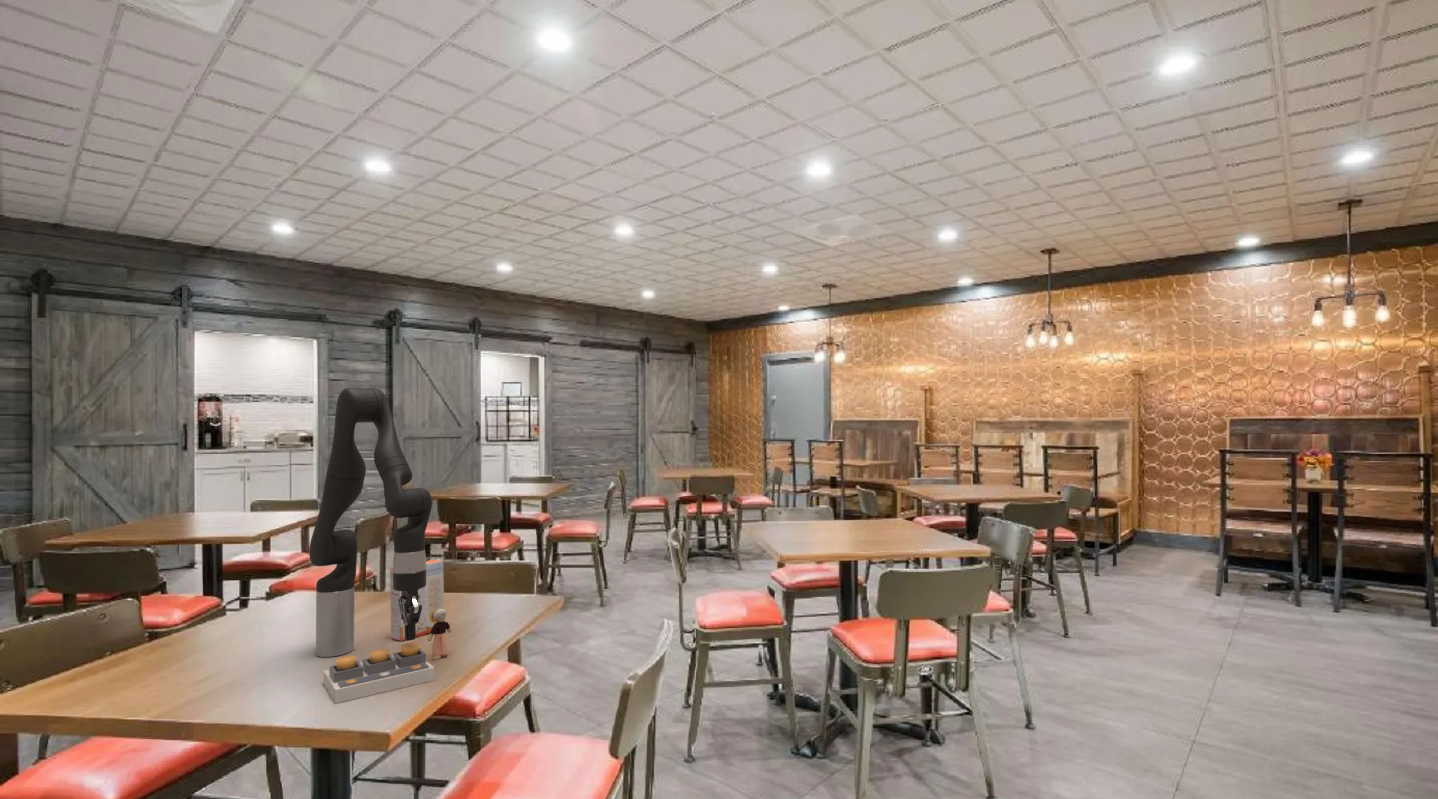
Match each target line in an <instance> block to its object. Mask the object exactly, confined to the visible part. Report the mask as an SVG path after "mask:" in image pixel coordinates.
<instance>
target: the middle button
mask: <svg viewBox="0 0 1438 799" xmlns="http://www.w3.org/2000/svg"><path fill="white" fill-rule="evenodd" d="M388 654H389V649H387V648H378V649H374V650H371V651H370V652H369V658H370V662H371V663H378V662H383V661H386V660H388Z"/></svg>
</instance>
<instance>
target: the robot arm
mask: <svg viewBox="0 0 1438 799" xmlns="http://www.w3.org/2000/svg"><path fill="white" fill-rule="evenodd" d="M334 415H335V417H334V428H333V429H334V430H333V437H332V438H333V439H332V444H331V451H330V455H329V461H328V464H327V468H326V474H325V479H324V485H323V492H322V495H321V496H322V498H321V502H320V507H319V511H318V516H317V518H316V522H315V525H314V528H313V532H312V535H311V539H310V543H309V549H308V550H309V552H308V554H309V559H310V563H311V564H312V565H313V566H315V567H326V566H334V565H336V567H335V568H334V569H333V570H332V571H330V572H329V573H327V574H326V575H324V576H323V577H321V578H319V579H318V580H317V581H316V584H315V586H316V588H315V590H316V593H315V596H316V597H315V601H316V602H315V606H316V607H315V656H316V657H321V658H330V657H331V658H332V657H338V656H341V655H342V656H343V655H346V654H348V653H351V652H353V651H354V649H355V581H356V576H357V562H358V561H357V560H358V538H357V535H356V533H355V531H354V530H352V529H349V528H345V529H337V530H336V529H335V528H336V526H337V524H338V522H339V520H340V518H341V517H342V516H343V515H344V514H345V512H346V511H347V510H348V509H349V508H351V505H353V504H354V502H355V501H356V500H357V499H358V498H359V496H360V494H361V493H362V491H363V487H364V482H365V478H366V473H367V467H366V466H367V465H366V462H365V461H364V458H363V456H362V454H361V453H360V451H359V448H358V447H357V443H355V429H356V424H357V423H373V425H374V426H375V428H376V429H377V440H376V444H375V448H374V452H373V460H374V465H375V468H376V470H377V472H378V474H379V476H380V478H381V481H382V484H383V493H384V503H385V504H384V505H385V509H386V511H387V512H388V513H389V514H388V515H390V516H391V517H393V518H395V519H404V518H408V522H407V523H406V525H403V526H400V527H398V528H397V529H395V531H394V534H393V545H394V546H393V547H394V548H393V551H394V552H393V559H392V567H393V589H394V590H396V591H402V592H401V596H400V598H399V600H398V602H399V607H400V613H401V619H402V620H403V623H404V624H405V639H406V640H405V641H407V642H409V641H414V640H415V639H416V638H417V637H416V629H415V624H417V623H418V622H419V618H420V614H421V610H422V605H419V603H420V595H419V596H418V590H419V589H420V588H424V587H425V586H426V561H427V556H426V530H427V527H428V522H429V521H430V520H429V519H430V516H431V513H432V508H433V499H432V495H431V493H430V492H429V490H428V489H426V488H424V487H414V488H413V487H412V488H403V487H404V486H406V485H407V484H409V483H410V482H411V481H412V479H413V472H412V469H411V467H410V466H409V463H408V461H407V459H406V456H405V454H404V452H403V450H402V447H401V445H400V442H399V438H398V435H397V430H396V426H395V422H394V418H393V415H392V411H391V407H390V404H389V400H388V398H387V396H386V394H385V392H384V391H382V389H379V388H376V387H346V388H344V389H342V390H341V391H340V392H339V396H338V397H337V401H336V406H335V414H334Z"/></svg>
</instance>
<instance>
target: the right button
mask: <svg viewBox="0 0 1438 799" xmlns="http://www.w3.org/2000/svg"><path fill="white" fill-rule="evenodd" d="M419 646H420V645H419V643H418V642H407V643H403V644H401V646H400V652H401V655H402V656H412V655H415V654H418V653H419V648H420V647H419Z"/></svg>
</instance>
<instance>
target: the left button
mask: <svg viewBox="0 0 1438 799" xmlns="http://www.w3.org/2000/svg"><path fill="white" fill-rule="evenodd" d="M356 661H357V656H356V655H353V654H352V655H351V654H350V655H344V656H343V655H342V656H340V657H338V658H337V659H336V665H337V669H338V670H345V669H350V668H353V667H355V666H356Z"/></svg>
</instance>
